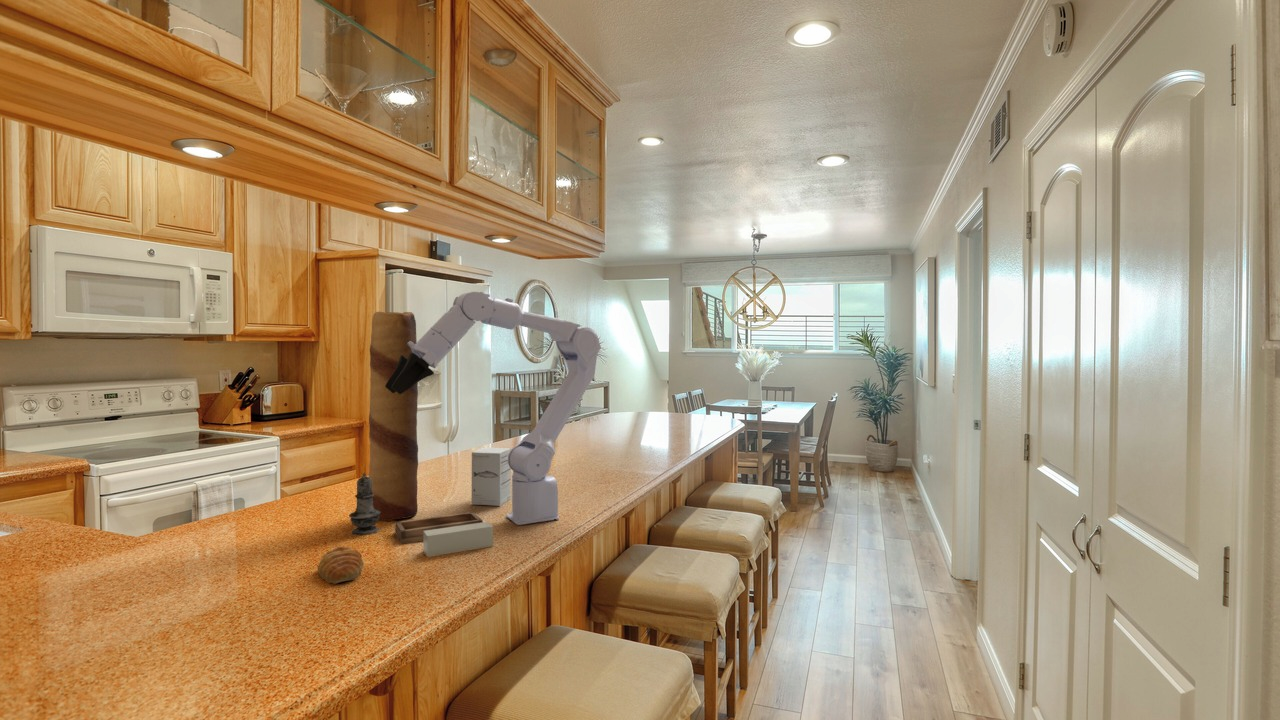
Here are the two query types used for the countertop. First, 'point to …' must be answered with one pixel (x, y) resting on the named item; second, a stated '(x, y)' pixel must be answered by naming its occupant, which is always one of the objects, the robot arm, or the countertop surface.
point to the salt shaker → (364, 508)
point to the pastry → (340, 565)
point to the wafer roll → (392, 419)
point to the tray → (432, 525)
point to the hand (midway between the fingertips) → (392, 390)
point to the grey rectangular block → (457, 538)
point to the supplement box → (491, 476)
